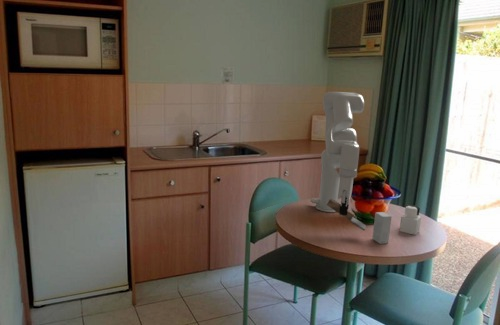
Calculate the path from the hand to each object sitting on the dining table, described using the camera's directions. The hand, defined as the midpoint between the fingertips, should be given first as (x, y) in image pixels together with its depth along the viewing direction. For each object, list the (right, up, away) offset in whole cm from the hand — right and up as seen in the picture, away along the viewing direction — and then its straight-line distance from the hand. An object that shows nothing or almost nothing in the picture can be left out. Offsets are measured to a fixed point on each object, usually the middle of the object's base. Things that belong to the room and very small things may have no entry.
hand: (343, 213), depth 184 cm
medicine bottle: (+32, -10, +11) cm, 35 cm away
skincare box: (+15, -12, -3) cm, 19 cm away
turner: (+1, -1, 0) cm, 2 cm away
